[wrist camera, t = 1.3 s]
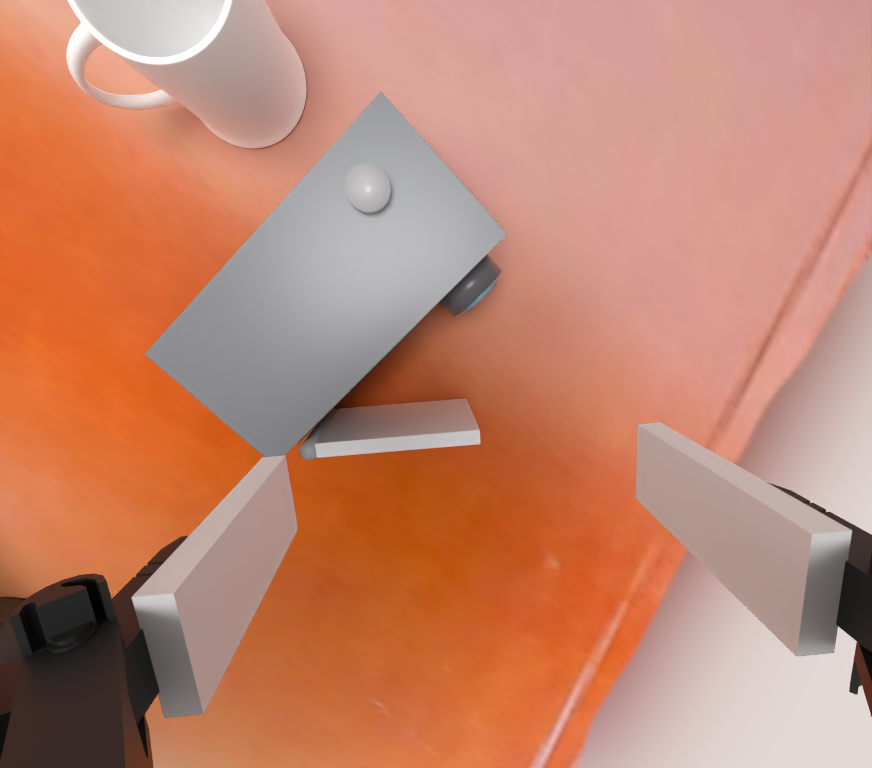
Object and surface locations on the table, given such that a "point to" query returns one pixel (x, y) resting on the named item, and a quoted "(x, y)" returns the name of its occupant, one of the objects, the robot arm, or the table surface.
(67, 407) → the table surface
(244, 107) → the mug
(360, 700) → the table surface
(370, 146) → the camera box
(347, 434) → the door
